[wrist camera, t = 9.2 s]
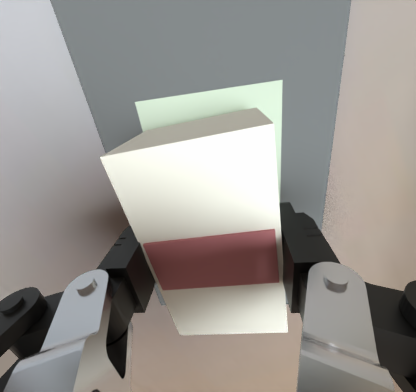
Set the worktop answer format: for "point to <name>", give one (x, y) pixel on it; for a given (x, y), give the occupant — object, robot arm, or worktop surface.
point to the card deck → (208, 220)
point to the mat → (216, 73)
